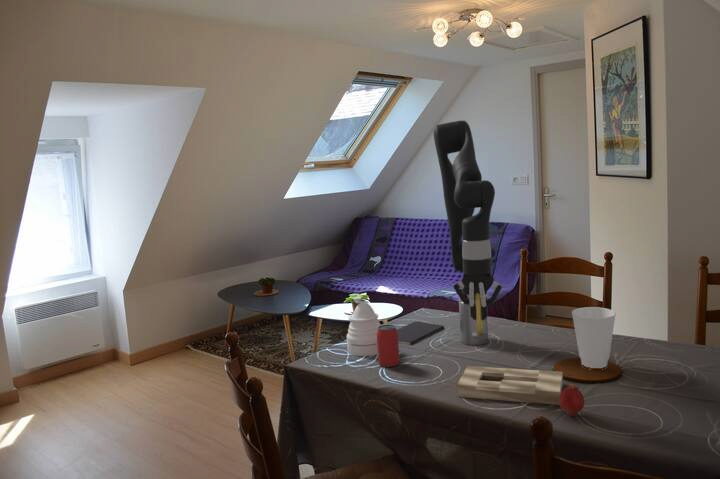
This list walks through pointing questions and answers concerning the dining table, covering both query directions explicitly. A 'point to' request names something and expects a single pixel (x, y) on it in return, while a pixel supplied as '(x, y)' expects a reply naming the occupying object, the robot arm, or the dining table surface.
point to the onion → (571, 400)
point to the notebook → (416, 332)
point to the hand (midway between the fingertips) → (479, 319)
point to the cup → (594, 335)
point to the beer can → (387, 346)
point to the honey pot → (363, 330)
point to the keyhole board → (511, 385)
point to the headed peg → (479, 320)
